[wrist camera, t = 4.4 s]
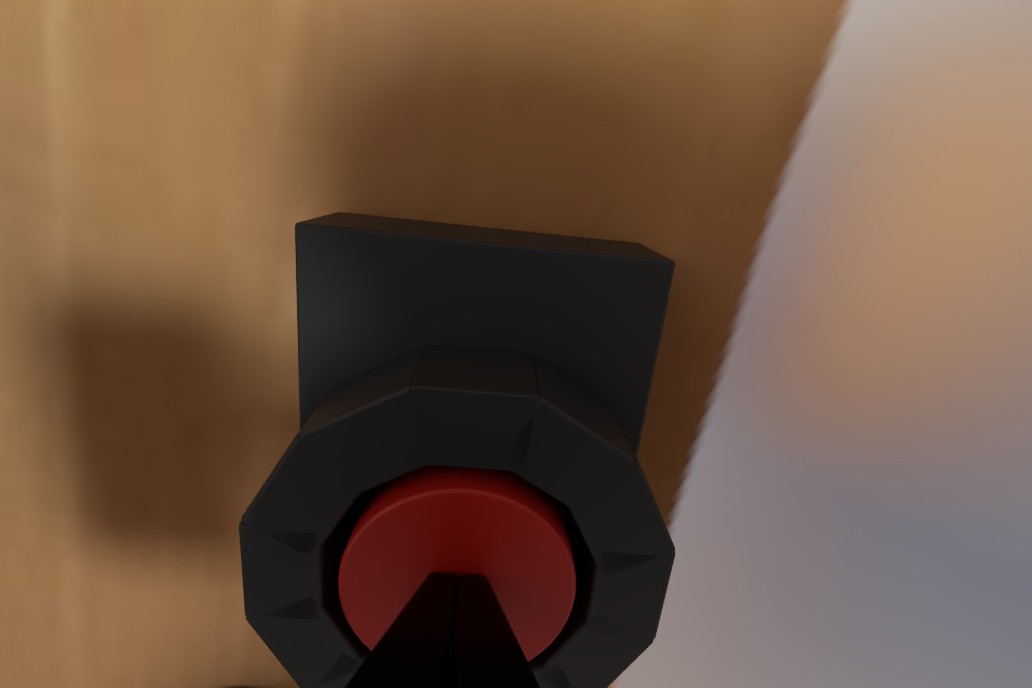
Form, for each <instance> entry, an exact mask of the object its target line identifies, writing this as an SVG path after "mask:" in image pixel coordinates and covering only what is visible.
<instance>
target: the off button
mask: <svg viewBox="0 0 1032 688" xmlns="http://www.w3.org/2000/svg"><path fill="white" fill-rule="evenodd" d="M434 571H436V572H452V573H456V574H457V576H458V577H459V575H460V574H462V573H469V574H483V575H485V576H486V577H487V578H488V580H489V582H490V584H491V586H492V588H493V590H494V592H495V594H496V597H497V599H498V601H499V603H500V605H501V607H502V609H503V611H504V613H505V615H506V617H507V619H508V621H509V624H510V626H511V628H512V630H513V632H514V634H515V636H516V638H517V640H518V642H519V644H520V646H521V648H522V650H523V653H524V655H525V657H526V659H527V661H530V660H532V659H533V658H534V657H536V656H537V655H539V654H540V653H541V652H543V651H544V650H545V649H546V648H547V647H548V646H549V645H550V644H551V643H552V642H553V641H554V639H555V638H556V637H557V636H558V635H559V633H560V632H561V630H562V629H563V627H564V625H565V624H566V622H567V620H568V617H569V615H570V613H571V610H572V607H573V603H574V599H575V594H576V571H575V565H574V560H573V555H572V550H571V544H570V539H569V534H568V529H567V524H566V518H565V513H564V508H563V504H562V502H560V501H558V500H557V499H555V498H554V497H552V496H550V495H549V494H547V493H545V492H544V491H542V490H541V489H539V488H537V487H536V486H534V485H533V484H531V483H529V482H528V481H526V480H524V479H523V478H521V477H520V476H518V475H516V474H515V473H513V472H511V471H505V470H491V469H478V468H465V467H451V466H438V465H426V466H424V467H422V468H419V469H417V470H414V471H412V472H410V473H407V474H405V475H402V476H400V477H398V478H395V479H393V480H390V481H388V482H386V483H383V484H381V485H378V486H376V487H374V488H371V489H370V490H369V492H368V494H367V497H366V499H365V502H364V504H363V507H362V509H361V511H360V514H359V516H358V519H357V521H356V524H355V526H354V529H353V531H352V534H351V536H350V538H349V541H348V543H347V546H346V548H345V551H344V553H343V556H342V559H341V563H340V567H339V576H338V588H339V597H340V601H341V605H342V609H343V612H344V614H345V616H346V619H347V621H348V623H349V624H350V626H351V628H352V629H353V631H354V633H355V634H356V635H357V636H358V637H359V639H360V640H361V641H362V642H363V643H364V644H365V645H366V646H367V647H368V648H369V649H370V650H371V651H372V650H373V648H374V647H375V646H376V644H377V643H378V642H379V640H380V639H381V638H382V636H383V635H384V634H385V632H386V631H387V630H388V628H389V627H390V625H391V624H392V623H393V621H394V620H395V619H396V617H397V616H398V615H399V613H400V612H401V611H402V609H403V608H404V607H405V605H406V604H407V603H408V601H409V600H410V599H411V597H412V596H413V595H414V593H415V592H416V590H417V589H418V588H419V586H420V585H421V584H422V582H423V581H424V580H425V578H426V577H427V576H428V575H429V574H430V573H431V572H434ZM457 584H458V582H457Z"/></svg>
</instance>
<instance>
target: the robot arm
mask: <svg viewBox="0 0 1032 688" xmlns="http://www.w3.org/2000/svg"><path fill="white" fill-rule="evenodd" d="M457 582H458V584H457ZM344 688H540V686H539V684H538V682H537V680H536V677H535V675H534V673H533V671H532V669H531V667H530V665H529V663H528V661H527V659H526V657H525V655H524V653H523V650H522V648H521V646H520V644H519V642H518V640H517V638H516V636H515V634H514V632H513V630H512V628H511V626H510V624H509V621H508V619H507V617H506V615H505V613H504V611H503V609H502V607H501V605H500V603H499V601H498V599H497V597H496V594H495V592H494V590H493V588H492V586H491V584H490V582H489V580H488V578H487V577H486V576H485V575H483V574H469V573H462V574H460V575H459V577H458V576H457V574H456V573H452V572H436V571H434V572H431V573H430V574H429V575H428V576H427V577H426V578H425V580H424V581H423V582H422V584H421V585H420V586H419V588H418V589H417V590H416V592H415V593H414V595H413V596H412V597H411V599H410V600H409V601H408V603H407V604H406V605H405V607H404V608H403V609H402V611H401V612H400V613H399V615H398V616H397V617H396V619H395V620H394V621H393V623H392V624H391V625H390V627H389V628H388V630H387V631H386V632H385V634H384V635H383V636H382V638H381V639H380V640H379V642H378V643H377V644H376V646H375V647H374V648H373V650H372V651H371V652H370V654H369V655H368V656H367V658H366V659H365V660H364V662H363V663H362V665H361V666H360V667H359V669H358V670H357V671H356V673H355V674H354V675H353V677H352V678H351V679H350V681H349V682H348V683H347V685H346V686H345V687H344Z"/></svg>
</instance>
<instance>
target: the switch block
mask: <svg viewBox="0 0 1032 688" xmlns="http://www.w3.org/2000/svg"><path fill="white" fill-rule="evenodd" d="M295 245H296V284H297V324H298V364H299V404H300V431H299V432H298V434H297V435H296V436H295V438H294V439H293V441H292V442H291V444H290V445H289V447H288V448H287V450H286V451H285V453H284V454H283V456H282V457H281V459H280V460H279V462H278V463H277V465H276V466H275V468H274V469H273V471H272V472H271V474H270V475H269V477H268V478H267V480H266V481H265V483H264V484H263V486H262V487H261V489H260V490H259V492H258V493H257V495H256V496H255V498H254V499H253V501H252V502H251V504H250V505H249V507H248V508H247V510H246V511H245V513H244V514H243V516H242V519H241V522H240V524H239V533H240V547H241V562H242V576H243V591H244V605H245V615H246V616H247V617H246V619H247V621H248V622H249V624H250V625H251V626H252V627H253V629H254V630H255V631H256V632H257V634H258V635H259V636H260V638H261V639H262V640H263V641H264V643H265V644H266V645H267V646H268V648H269V649H270V650H271V651H272V653H273V654H274V655H275V656H276V658H277V659H278V660H279V662H280V663H281V664H282V665H283V667H284V668H285V669H286V670H287V672H288V673H289V674H290V675H291V677H292V678H293V679H294V681H295V682H296V683H297V684H298V686H299V687H300V688H344V687H345V686H346V685H347V683H348V682H349V681H350V679H351V678H352V677H353V675H354V674H355V673H356V671H357V670H358V669H359V667H360V666H361V665H362V663H363V662H364V660H365V659H366V658H367V656H368V655H369V654H370V652H371V650H370V649H369V648H368V647H367V646H366V645H365V644H364V643H363V642H362V641H361V640H360V639H359V637H358V636H357V635H356V634H355V633H354V631H353V629H352V628H351V626H350V624H349V623H348V621H347V619H346V616H345V614H344V612H343V609H342V605H341V601H340V597H339V588H338V576H339V567H340V563H341V559H342V556H343V553H344V551H345V548H346V546H347V543H348V541H349V538H350V536H351V534H352V531H353V529H354V526H355V524H356V521H357V519H358V516H359V514H360V511H361V509H362V507H363V504H364V502H365V499H366V497H367V494H368V492H369V490H370V489H371V488H374V487H376V486H378V485H381V484H383V483H386V482H388V481H390V480H393V479H395V478H398V477H400V476H402V475H405V474H407V473H410V472H412V471H414V470H417V469H419V468H422V467H424V466H426V465H438V466H451V467H465V468H478V469H491V470H505V471H511V472H513V473H515V474H516V475H518V476H520V477H521V478H523V479H524V480H526V481H528V482H529V483H531V484H533V485H534V486H536V487H537V488H539V489H541V490H542V491H544V492H545V493H547V494H549V495H550V496H552V497H554V498H555V499H557V500H558V501H560V502H562V504H563V508H564V513H565V518H566V524H567V529H568V534H569V539H570V544H571V550H572V555H573V560H574V565H575V571H576V594H575V599H574V603H573V607H572V610H571V613H570V615H569V617H568V620H567V622H566V624H565V625H564V627H563V629H562V630H561V632H560V633H559V635H558V636H557V637H556V638H555V639H554V641H553V642H552V643H551V644H550V645H549V646H548V647H547V648H546V649H545V650H544V651H543V652H541V653H540V654H539V655H537V656H536V657H534V658H533V659H532V660H530V661H528V663H529V665H530V667H531V669H532V671H533V673H534V675H535V677H536V680H537V682H538V684H539V686H540V688H607V687H608V686H609V685H610V684H611V683H612V682H613V681H614V680H615V679H616V678H617V677H618V676H619V675H620V674H621V673H622V672H623V671H624V670H625V669H626V668H627V667H628V666H629V665H630V664H631V663H633V661H634V660H636V659H637V658H638V656H640V655H641V653H643V652H644V650H646V649H647V648H648V646H650V645H651V644H652V643H653V639H654V638H655V636H656V632H657V628H658V624H659V620H660V615H661V611H662V607H663V603H664V599H665V595H666V590H667V586H668V582H669V578H670V574H671V570H672V566H673V561H674V557H675V547H674V544H673V542H672V540H671V537H670V535H669V533H668V530H667V528H666V526H665V523H664V521H663V518H662V516H661V514H660V511H659V509H658V507H657V504H656V502H655V500H654V497H653V495H652V493H651V490H650V488H649V485H648V483H647V481H646V478H645V476H644V474H643V471H642V469H641V467H640V464H639V462H638V460H637V453H638V448H639V443H640V438H641V433H642V428H643V423H644V418H645V413H646V408H647V403H648V398H649V393H650V388H651V383H652V378H653V373H654V368H655V363H656V358H657V353H658V348H659V343H660V338H661V333H662V328H663V323H664V318H665V313H666V307H667V302H668V297H669V292H670V287H671V282H672V277H673V272H674V267H675V262H674V261H672V260H671V259H669V258H667V257H665V256H663V255H661V254H659V253H657V252H655V251H653V250H651V249H649V248H647V247H645V246H644V245H642V244H640V243H632V242H622V241H612V240H603V239H593V238H583V237H574V236H564V235H554V234H544V233H535V232H525V231H515V230H506V229H496V228H486V227H477V226H467V225H457V224H447V223H438V222H428V221H418V220H409V219H399V218H389V217H380V216H370V215H360V214H351V213H341V212H337V213H333V214H330V215H326V216H322V217H318V218H314V219H310V220H306V221H303V222H299V223H296V225H295Z"/></svg>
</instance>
